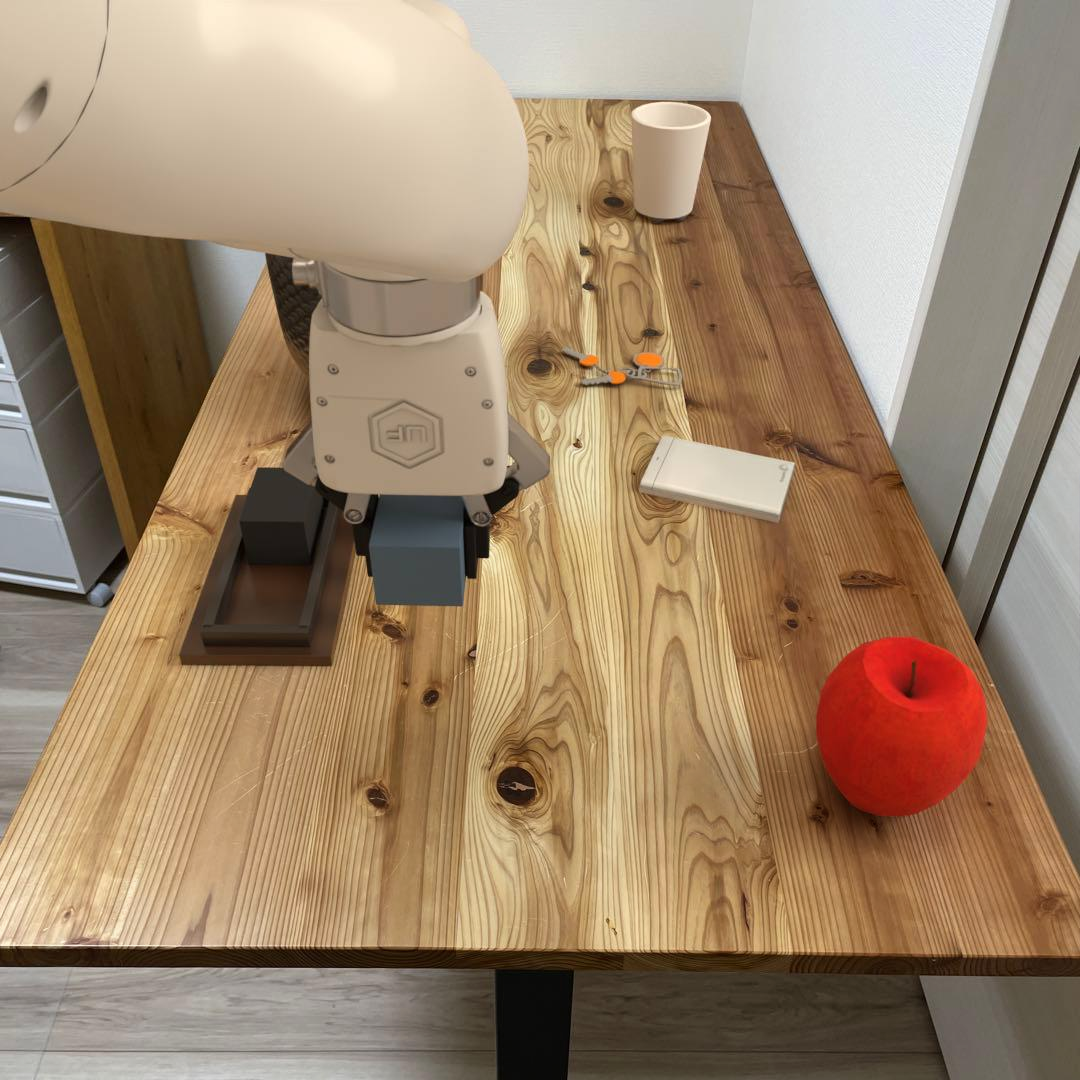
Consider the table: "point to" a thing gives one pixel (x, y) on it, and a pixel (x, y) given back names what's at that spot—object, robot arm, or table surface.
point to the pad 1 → (281, 519)
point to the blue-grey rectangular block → (418, 550)
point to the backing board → (272, 601)
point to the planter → (296, 308)
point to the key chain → (625, 368)
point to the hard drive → (718, 478)
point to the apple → (900, 725)
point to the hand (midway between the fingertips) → (424, 560)
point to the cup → (667, 158)
